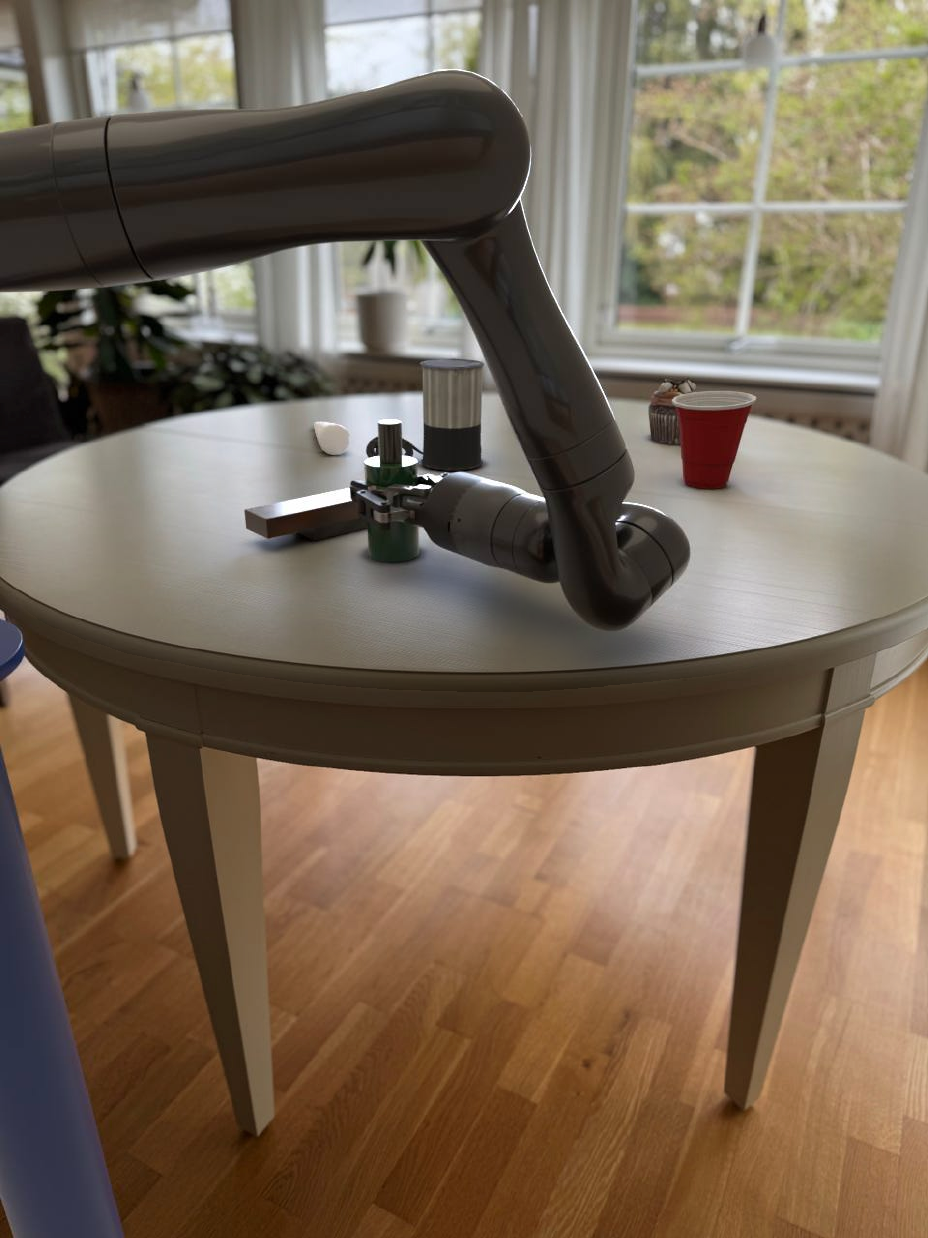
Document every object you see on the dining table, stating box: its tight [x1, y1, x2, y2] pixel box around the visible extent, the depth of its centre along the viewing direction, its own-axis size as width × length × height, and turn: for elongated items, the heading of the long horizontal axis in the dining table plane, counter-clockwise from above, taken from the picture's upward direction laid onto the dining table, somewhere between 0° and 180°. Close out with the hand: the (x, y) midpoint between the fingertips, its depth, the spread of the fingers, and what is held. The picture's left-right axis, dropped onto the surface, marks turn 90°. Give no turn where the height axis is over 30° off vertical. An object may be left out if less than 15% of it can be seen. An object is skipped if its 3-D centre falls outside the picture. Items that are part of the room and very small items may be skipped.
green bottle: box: [363, 419, 420, 563], centre depth 89 cm, size 5×5×14 cm
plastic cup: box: [672, 390, 757, 490], centre depth 116 cm, size 11×11×12 cm
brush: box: [243, 487, 367, 542], centre depth 98 cm, size 18×5×4 cm, turn 131°
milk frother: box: [365, 357, 485, 472], centre depth 125 cm, size 14×16×15 cm
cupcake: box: [647, 377, 697, 446], centre depth 143 cm, size 10×10×10 cm
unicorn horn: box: [313, 421, 351, 456], centre depth 142 cm, size 5×24×5 cm, turn 13°
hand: (377, 484), depth 90 cm, fingers closed on green bottle, 5 cm apart
